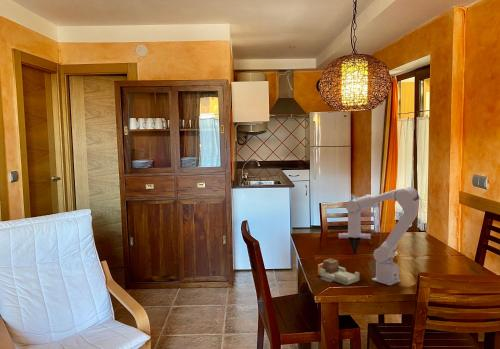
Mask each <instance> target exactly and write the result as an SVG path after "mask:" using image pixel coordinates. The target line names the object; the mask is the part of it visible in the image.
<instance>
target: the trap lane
mask: <svg viewBox="0 0 500 349" xmlns="http://www.w3.org/2000/svg"><path fill="white" fill-rule="evenodd" d="M317 273H318V274H317V276H320V277H321V278H322V277H326V278H328V279H331V280H334V281H333V282H336V283H339V284H342V285H344V286H347V285H350V284H353V283H356V282H359V281H360V280H361V276H360V272H359V271H355V272H354V273H352V272H348V271H347V268H346V267H342V266H339V271H338V272H335V273H332V274H331V273H328V272H326V270H325V269H323V262H321V263H319V264H317Z"/></svg>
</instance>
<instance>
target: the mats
mask: <svg viewBox="0 0 500 349" xmlns="http://www.w3.org/2000/svg"><path fill="white" fill-rule="evenodd" d="M319 280H322V281H325V282H327V283H332V282H335V281H334V280H331V279H328V278H326V277H322V276H321V277H320V278H319Z"/></svg>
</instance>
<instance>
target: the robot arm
mask: <svg viewBox="0 0 500 349" xmlns="http://www.w3.org/2000/svg"><path fill="white" fill-rule="evenodd" d="M420 199H421V197H420V195H419V192H418V191H417V189H416V188H414V187H411V186H409V187H406V188H397V189H393V190H389V191H386V192H383V193H381V194H377V195H372V194H369V193H366V194H364V195H363V196H361V197H355V198H354V199H349V201H347V202H346V203H345V209H346V210H347V232H342V233H341V232H339V233H338V239H348V241H349V244H350V246H351V250H352V254H357V250H358V247H359V245H360V242H361V240H362V239H368V240H371V239H372V238H371V236H372V235H371V233H362V232H361V230H362V227H361V226H362V225H361V223H362V222H361V220H362V219H361V216H362V213H361V211H364V210H368V209H370V208H373V207H374V208H375V206H376V204H377V203H380V202H381V203H382V202H385V201H389V200H391V201H394V202H397V203H398V205H400V207H401V208H402V211H403V214H402V215H401V216H400V217H399V220H398V221H397V222H396V224H395V226H394V227H393V229H392V230H391V232H390V233H389V234H388V236H387V238H386V239H385V240H384V241H383V243H382V244H381V245H380V246H379V247H378V248H375V249H374V251H373V253H372V254H373V258H374V260H375V277H372V278H371V281H374V282H378V283H381V284H384V285H387V286H392V285H395V284H397V283H400V282H401V280H400V267H399V265H398V264H397V263H395V262H394V259H393V257H394V256H395V254H396V249H397V248H398V244H399V242H401V239H402V238H403V237H404V235H405V234H406V232H407V231H408V229H409V228H410V227H411V226H412V224H413V222H414V221H415V219H416V218H417V216H418V215H419V208H420V207H419V203H420Z"/></svg>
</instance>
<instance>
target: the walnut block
mask: <svg viewBox="0 0 500 349" xmlns="http://www.w3.org/2000/svg"><path fill="white" fill-rule="evenodd" d="M322 263H323V269H325V270H326V272H328V273H331V274H332V273H335V272H338V271H339V267H340V265H339V260H337V259H334V258H327V259H324V260H323V261H322Z"/></svg>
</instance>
